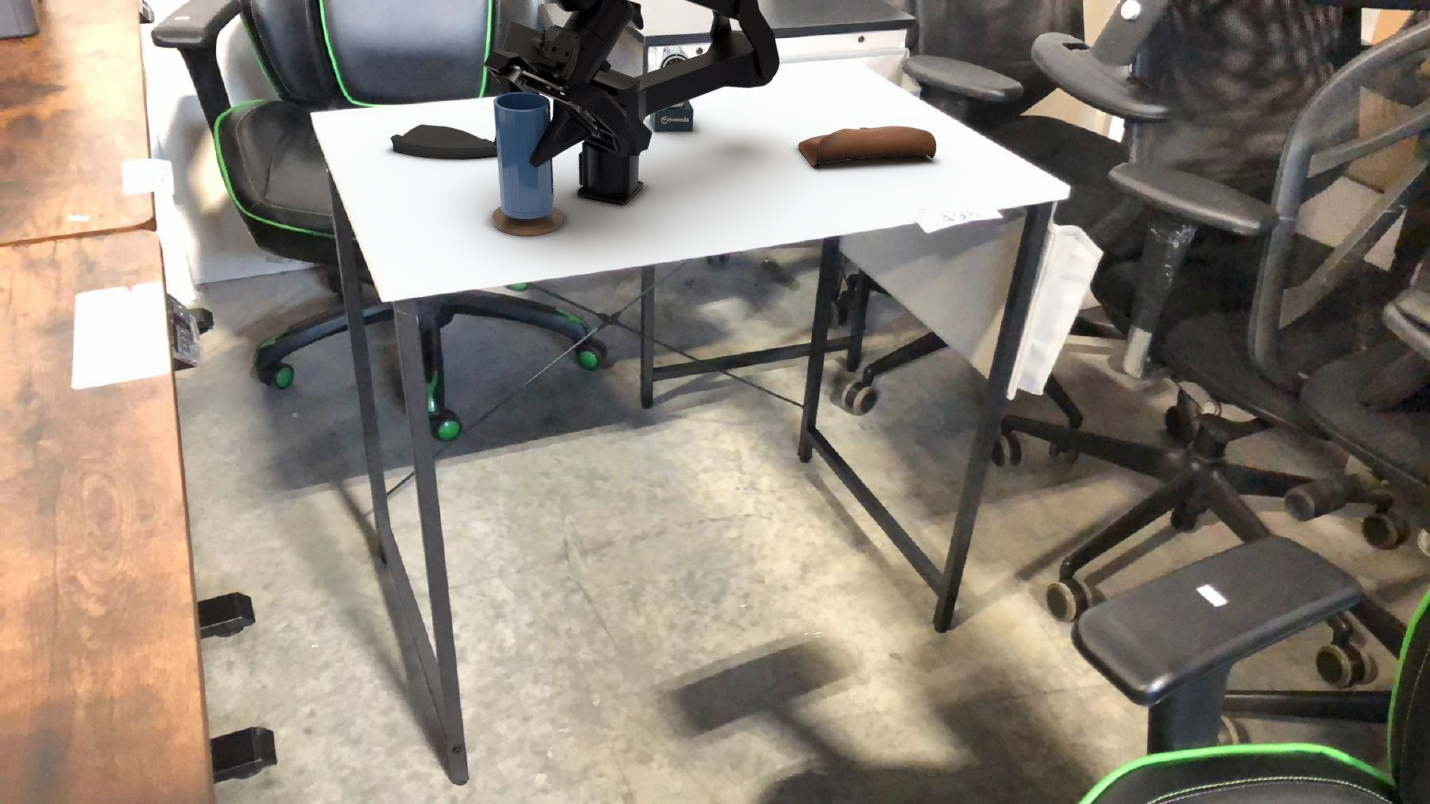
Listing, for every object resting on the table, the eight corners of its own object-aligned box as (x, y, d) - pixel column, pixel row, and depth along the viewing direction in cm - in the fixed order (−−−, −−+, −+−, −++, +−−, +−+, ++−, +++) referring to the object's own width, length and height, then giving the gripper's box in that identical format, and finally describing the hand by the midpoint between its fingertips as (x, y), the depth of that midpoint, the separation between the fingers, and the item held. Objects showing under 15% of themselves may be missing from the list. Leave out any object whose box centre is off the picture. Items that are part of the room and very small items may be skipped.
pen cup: (550, 195, 118) (545, 91, 110) (557, 217, 113) (553, 110, 106) (498, 198, 116) (491, 92, 109) (503, 221, 111) (495, 112, 104)
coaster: (573, 213, 118) (573, 208, 117) (543, 241, 111) (543, 236, 111) (512, 201, 119) (512, 196, 119) (479, 227, 113) (479, 222, 113)
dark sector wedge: (483, 169, 127) (482, 156, 126) (388, 151, 129) (387, 139, 128) (512, 146, 133) (512, 134, 132) (421, 129, 136) (420, 118, 135)
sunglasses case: (908, 136, 144) (926, 105, 139) (922, 176, 142) (942, 146, 136) (793, 143, 139) (807, 111, 134) (806, 184, 137) (821, 154, 131)
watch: (656, 136, 140) (659, 57, 133) (648, 116, 146) (650, 39, 140) (695, 135, 141) (699, 57, 134) (685, 115, 147) (689, 40, 141)
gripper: (491, -28, 108) (415, 93, 108) (606, 11, 98) (523, 144, 98) (550, 34, 118) (481, 145, 117) (660, 75, 108) (585, 197, 108)
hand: (514, 156), depth 110 cm, fingers closed on pen cup, 6 cm apart
